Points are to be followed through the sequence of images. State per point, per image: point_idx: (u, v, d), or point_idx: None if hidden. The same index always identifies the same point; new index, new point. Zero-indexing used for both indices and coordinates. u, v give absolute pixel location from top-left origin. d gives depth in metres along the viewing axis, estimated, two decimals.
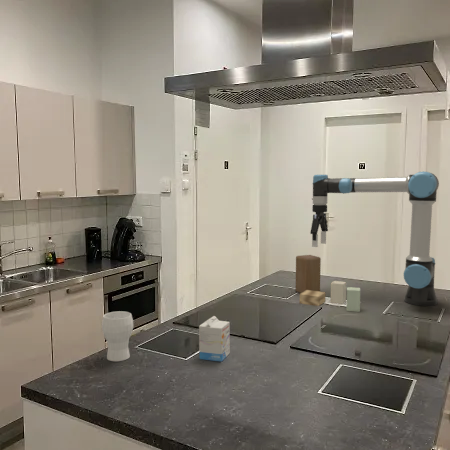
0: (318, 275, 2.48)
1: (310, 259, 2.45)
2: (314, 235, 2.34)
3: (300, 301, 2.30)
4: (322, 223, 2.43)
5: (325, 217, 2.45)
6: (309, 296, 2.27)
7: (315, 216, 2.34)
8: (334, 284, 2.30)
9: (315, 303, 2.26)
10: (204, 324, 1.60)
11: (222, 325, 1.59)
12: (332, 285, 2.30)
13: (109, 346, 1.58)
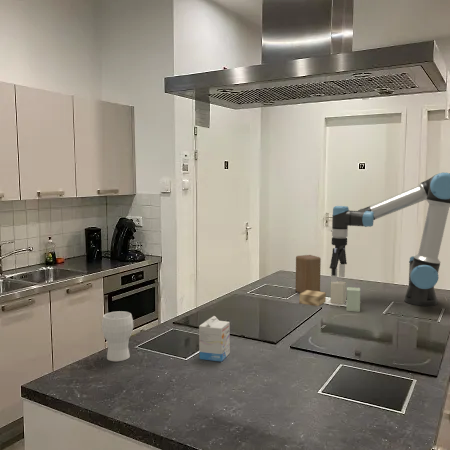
0: (318, 275, 2.48)
1: (310, 259, 2.45)
2: (333, 270, 2.24)
3: (300, 301, 2.30)
4: (341, 256, 2.33)
5: (344, 250, 2.35)
6: (309, 296, 2.27)
7: (335, 250, 2.24)
8: (334, 284, 2.30)
9: (315, 303, 2.26)
10: (204, 324, 1.60)
11: (222, 325, 1.58)
12: (332, 285, 2.30)
13: (109, 346, 1.58)
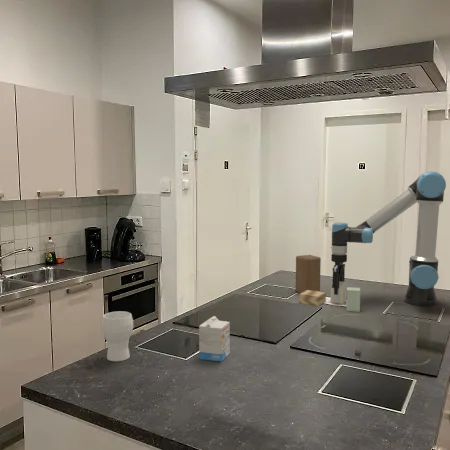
0: (318, 275, 2.48)
1: (310, 259, 2.45)
2: (336, 289, 2.28)
3: (300, 301, 2.30)
4: (340, 274, 2.33)
5: (344, 268, 2.35)
6: (308, 296, 2.27)
7: (335, 270, 2.25)
8: None
9: (314, 303, 2.26)
10: (204, 324, 1.60)
11: (222, 325, 1.58)
12: None
13: (109, 346, 1.58)
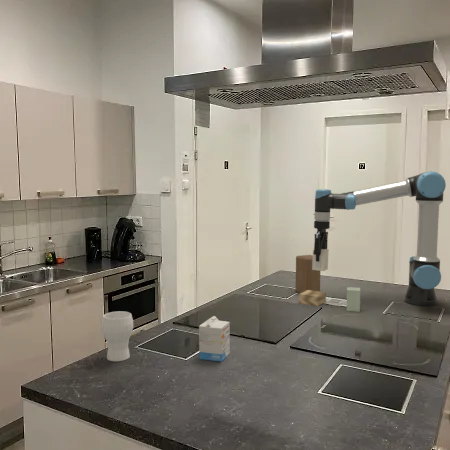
0: (318, 275, 2.48)
1: (310, 259, 2.45)
2: (317, 256, 2.26)
3: (300, 301, 2.30)
4: (323, 241, 2.31)
5: (327, 236, 2.33)
6: (308, 296, 2.27)
7: (317, 236, 2.23)
8: None
9: (314, 303, 2.26)
10: (204, 324, 1.60)
11: (222, 325, 1.59)
12: None
13: (109, 346, 1.58)
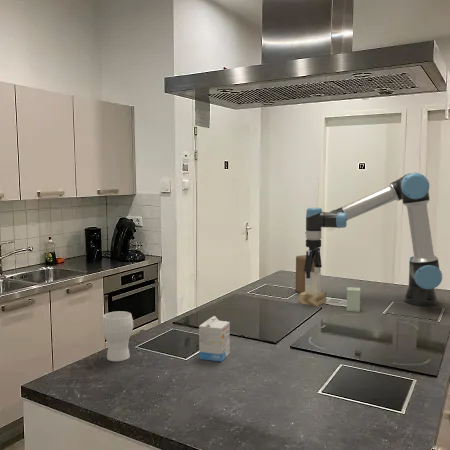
0: None
1: None
2: (308, 273, 2.24)
3: (299, 301, 2.31)
4: (316, 258, 2.33)
5: (319, 252, 2.34)
6: (308, 296, 2.27)
7: (308, 253, 2.23)
8: None
9: (313, 303, 2.26)
10: (204, 324, 1.60)
11: (222, 325, 1.58)
12: None
13: (109, 346, 1.58)
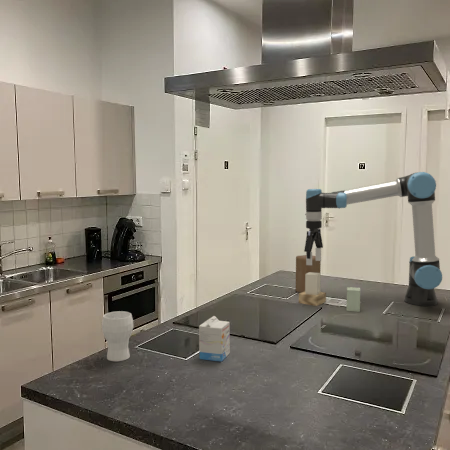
0: None
1: None
2: (308, 253, 2.22)
3: (299, 301, 2.31)
4: (316, 239, 2.32)
5: (320, 233, 2.33)
6: (308, 296, 2.28)
7: (309, 233, 2.23)
8: (308, 275, 2.28)
9: (313, 303, 2.26)
10: (204, 324, 1.60)
11: (222, 325, 1.59)
12: (306, 276, 2.29)
13: (109, 346, 1.58)
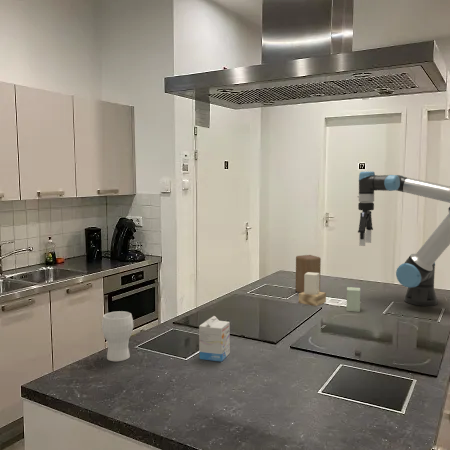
0: None
1: (310, 259, 2.45)
2: (362, 234, 2.27)
3: (299, 301, 2.31)
4: (368, 221, 2.37)
5: None
6: (307, 296, 2.28)
7: (363, 214, 2.28)
8: (307, 275, 2.28)
9: (313, 303, 2.26)
10: (204, 324, 1.60)
11: (222, 325, 1.58)
12: (305, 276, 2.29)
13: (109, 346, 1.58)
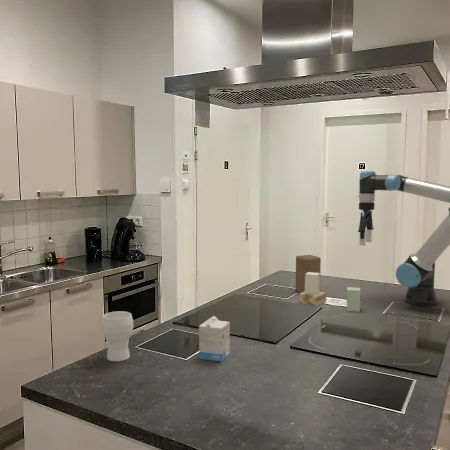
0: None
1: (310, 259, 2.45)
2: (362, 233, 2.27)
3: (299, 300, 2.31)
4: (368, 221, 2.37)
5: (371, 215, 2.38)
6: (308, 296, 2.28)
7: (363, 214, 2.28)
8: (308, 275, 2.28)
9: (313, 303, 2.26)
10: (204, 324, 1.60)
11: (222, 325, 1.59)
12: (306, 276, 2.29)
13: (109, 346, 1.58)
